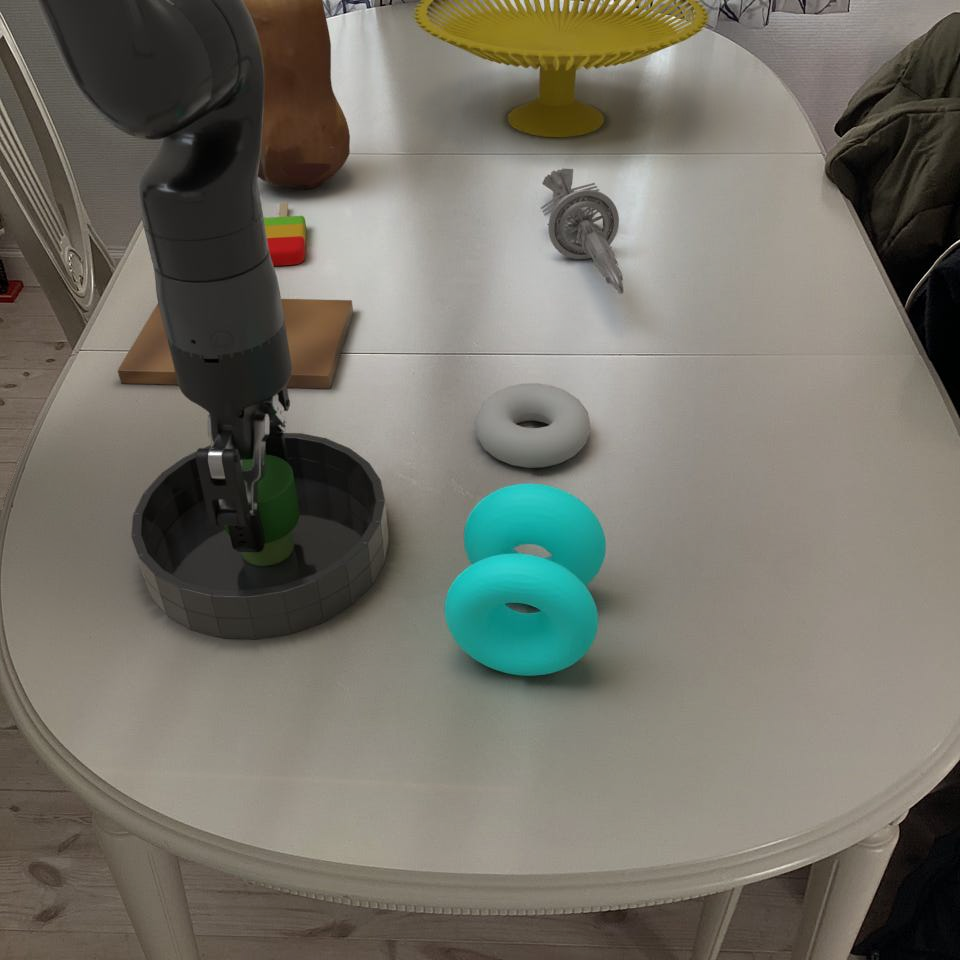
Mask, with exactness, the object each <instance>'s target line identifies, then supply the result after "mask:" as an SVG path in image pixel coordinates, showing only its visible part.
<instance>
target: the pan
mask: <svg viewBox="0 0 960 960" xmlns="http://www.w3.org/2000/svg"><path fill="white" fill-rule="evenodd" d="M284 438H285V443H286V449H287V455H288V460H289V465H290V467H291V468H292V471H293V476H294V482H295V488H296V494H297V500H298V506H299V512H300V516H299V520H298V523H297V525H296V526H295V528H294V529H293V530H292V535H293V541H294V548H293V551H292V553H291V554H290V555H289V556H288V557H287V558H286V559H285V560H283V561H282V562H279V563H277V564H274V565H270V566H257V565H253V564H251V563H249V562H247V561H246V560H245V559H244V558H243V556H242V553H241V552H238V551H236V550H235V549H234V548H233V547H232V542H231V538H230V535H229V534H228V533H227V532H226V530H225V527H224V525H219V526H211V525H210V522H209V517H208V513H207V508H206V504H205V499H204V494H203V490H202V485H201V481H200V476H199V472H198V467H197V462H196V454H197V450H196V451H194V452H192V453H190V454H188V455H185V456H183V457H182V458H181V459H179V460H178V461H176V462H175V463H174V464H172V465H171V466H169V467H168V468H166V469H165V470H164V471H162V472H161V473H160V474H159V475H158V476H157V477H156V478H155V480H153V482H152V483H151V484H150V485H149V486H148V487H147V488H146V489H145V491H144V492H143V493H142V495H141V497H140V499H139V501H138V503H137V506H136V508H135V510H134V512H133V514H132V521H131V534H130V536H131V540H132V544H133V547H134V550H135V553H136V557H137V560H138V563H139V567H140V570H141V572H142V577H143V579H144V582H145V586H146V588H147V591H148V593H149V597H150V598H151V599H152V600H153V601H154V603H155V604H156V605H157V607H158V608H159V609H160V610H161V611H162V612H163V613H164V614H165V616H167V617H168V618H169V619H172V620H173V621H174V622H175V623H177V624H179V625H181V626H183V627H185V628H187V629H188V630H191V631H195V632H197V633H200V634H204V635H205V636H206V635H207V636H211V637H215V638H221V639H230V640H231V639H232V640H261V639H269V638H271V639H272V638H277V637H282V636H287V635H291V634H295V633H298V632H301V631H305V630H308V629H310V628H313V627H315V626H317V625H319V624H322V623H324V622H326V621H328V620H330V619H332V618H333V617H335V616H337V615H339V614H340V613H342V612H344V611H345V610H346V609H348V608H349V607H350V606H352V605H353V604H354V603H355V602H357V601H358V600H360V598H361V597H362V596H363V595H364V594H365V593H366V592H367V591H368V590H369V589H370V588H371V586H372V585H373V584H374V583H375V581H376V579H377V578H378V576H379V575H380V572H381V570H382V568H383V566H384V565H385V562H386V557H387V553H388V547H389V541H390V539H389V529H388V519H387V518H388V517H387V516H388V515H387V507H386V506H387V505H386V498H385V493H384V488H383V483H382V480H381V478H380V477H379V475H378V474H377V472H376V470H375V469H374V468H373V466H372V464H370V462H369V461H367V460H366V459H365V458H364V457H362V456H361V455H360V454H358V453H357V452H356V451H354V450H353V449H352V448H350V447H348V446H345V445H343V444H341V443H339V442H336V441H334V440H331V439H330V438H327V437H322V436H317V435H311V434H307V433H302V432H284ZM204 448H211V444H210V445H207V446H204Z"/></svg>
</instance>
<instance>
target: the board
mask: <svg viewBox="0 0 960 960" xmlns="http://www.w3.org/2000/svg"><path fill="white" fill-rule="evenodd" d="M281 302H282V308H283V315H284V320H285V327H286V333H287V339H288V345H289V352H290V358H291V364H292V373H291V377H290V379H289V381H288V383H287V384H286V385H287V389H288V388H289V389H290V388H293V389H294V388H295V389H297V388H298V389H328V390H329V389H331V387H332V384H333V381H334V377H335V374H336V371H337V367H338V364H339V361H340V357H341V354H342V350H343V348H344V344H345V341H346V338H347V334H348V330H349V328H350V324H351V321H352V318H353V314H354V307H353V306H354V305H353V300H352V299H315V298H314V299H313V298H310V299H309V298H281ZM117 373H118V377H119V381H120V383H121V384H130V385H131V384H133V385H141V384H142V385H169V386H171V385H172V386H174V385H176V386H177V385H178V381H177V377H176V373H175V369H174V365H173V361H172V357H171V353H170V349H169V345H168V341H167V337H166V333H165V329H164V325H163V321H162V317H161V313H160V309H159V305H158V303H157V304H156V306H155V307H154V309H153V310H152V312H151V314H150V316H149V317H148V319H147V320H146V322H145V323H144V326H143V327H142V329H141V331H140V332H139V333H138V335H137V337H136V338H135V340H134V342H133V344H132V345H131V347H130V349H129V350H128V352H127V354H126V356H125V357H124V358H123V360H122V362H121V364H120V365H119V366H118V369H117ZM178 386H179V385H178Z"/></svg>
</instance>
